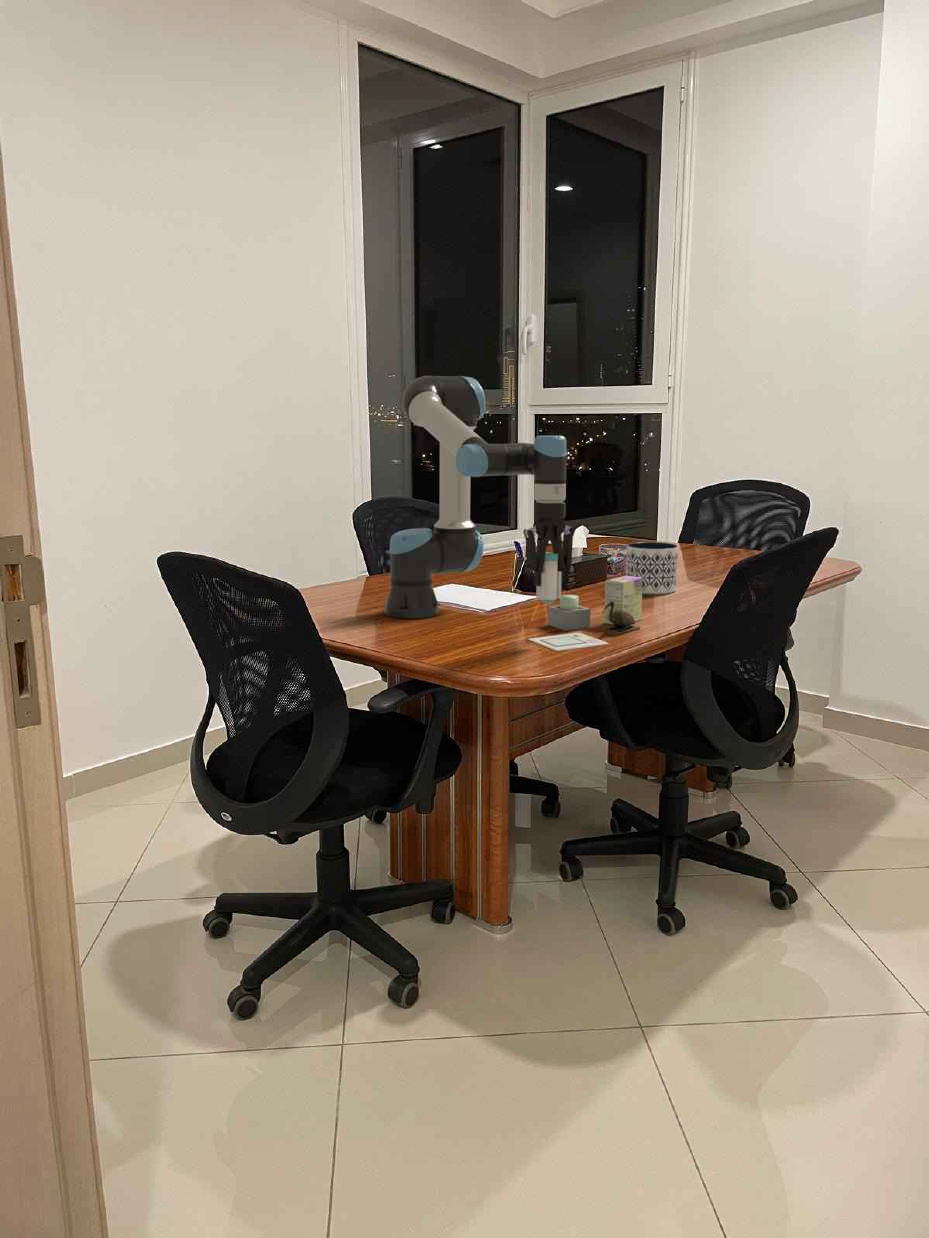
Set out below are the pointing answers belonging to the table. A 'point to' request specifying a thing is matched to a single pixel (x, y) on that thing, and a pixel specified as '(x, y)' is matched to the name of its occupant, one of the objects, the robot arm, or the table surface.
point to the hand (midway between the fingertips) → (548, 597)
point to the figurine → (620, 621)
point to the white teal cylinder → (550, 577)
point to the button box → (569, 618)
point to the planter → (653, 566)
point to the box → (624, 596)
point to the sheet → (568, 641)
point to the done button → (569, 602)
